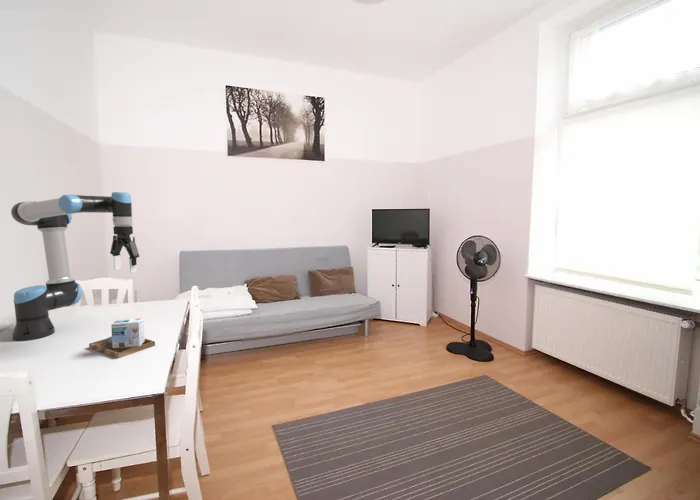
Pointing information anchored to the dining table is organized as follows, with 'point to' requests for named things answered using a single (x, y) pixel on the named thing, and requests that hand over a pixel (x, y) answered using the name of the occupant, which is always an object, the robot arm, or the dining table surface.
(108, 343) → the grey smooth rounded part
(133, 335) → the light bulb box
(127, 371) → the dining table surface
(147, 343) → the wooden divided tray
